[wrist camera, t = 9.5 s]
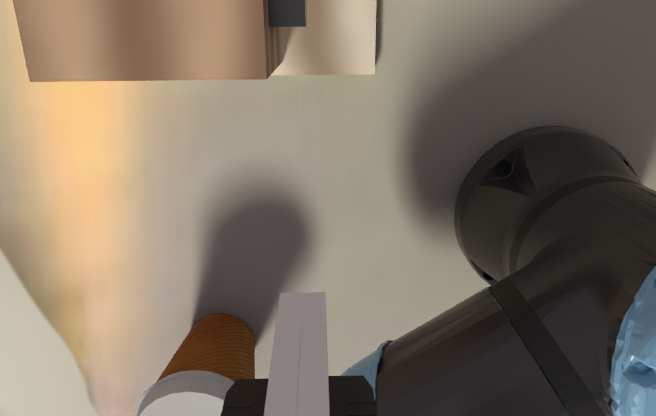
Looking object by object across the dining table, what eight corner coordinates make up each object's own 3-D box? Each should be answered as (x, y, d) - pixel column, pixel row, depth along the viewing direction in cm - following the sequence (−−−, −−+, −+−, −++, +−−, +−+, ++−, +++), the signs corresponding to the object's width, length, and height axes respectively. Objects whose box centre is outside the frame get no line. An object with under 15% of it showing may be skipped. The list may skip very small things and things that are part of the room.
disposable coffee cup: (199, 281, 46) (160, 365, 34) (289, 326, 48) (281, 420, 36) (155, 356, 48) (106, 456, 37) (242, 396, 50) (221, 503, 39)
